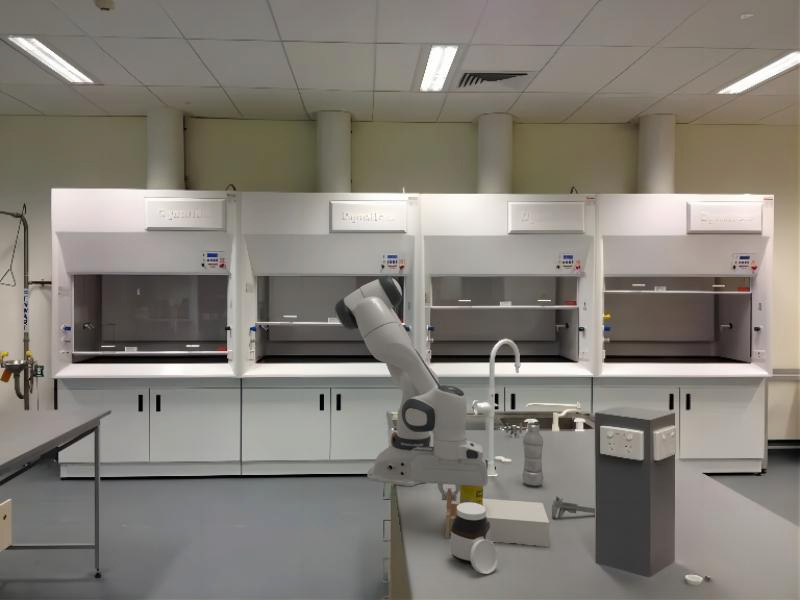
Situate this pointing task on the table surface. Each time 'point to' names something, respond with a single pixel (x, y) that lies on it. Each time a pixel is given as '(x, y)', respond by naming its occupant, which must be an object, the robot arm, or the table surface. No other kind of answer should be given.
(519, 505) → the sleeve
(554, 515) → the caliper
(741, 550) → the table surface
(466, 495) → the supplement bottle
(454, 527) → the spread jar
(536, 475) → the plastic bottle
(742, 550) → the table surface
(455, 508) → the tray
